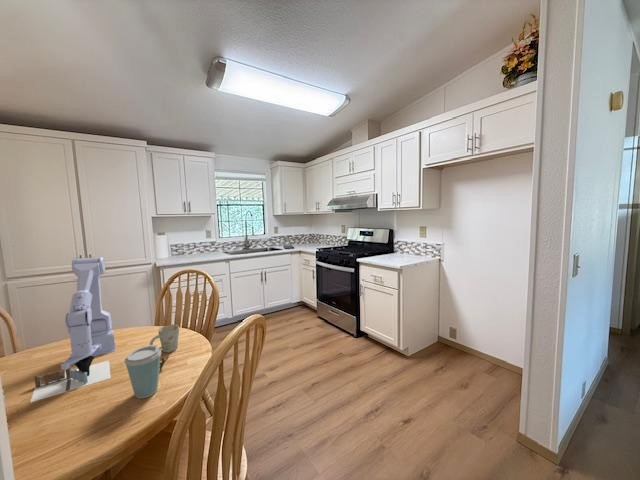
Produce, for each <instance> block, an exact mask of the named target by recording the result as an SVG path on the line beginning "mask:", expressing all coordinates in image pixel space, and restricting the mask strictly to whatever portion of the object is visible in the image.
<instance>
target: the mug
mask: <svg viewBox="0 0 640 480" xmlns="http://www.w3.org/2000/svg"><path fill="white" fill-rule="evenodd" d="M157 331H158V335H156V336H154V337H152V338H151V340H150V342H149V345H154V342H155V340H157V339H159V341H160V345H161V346H159V349H160V350H161V352H163V353H171V352H175V351H176V350H177V349H178V347H179V346H178V345H179V334H180V325H178V324H168V325H167V324H166V325H164V326H162V327H159V329H158V330H157Z"/></svg>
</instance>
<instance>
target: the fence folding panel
mask: <svg viewBox="0 0 640 480" xmlns="http://www.w3.org/2000/svg"><path fill="white" fill-rule="evenodd" d="M76 369H77V368H75V369H73V368H71V370H69V373H70V378H72V379H73V380H78V381H79V382H80V381H81V382H83V383H87V382H88V379H87V372H84V373H83V372H82V371H77V370H76Z"/></svg>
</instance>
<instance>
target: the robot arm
mask: <svg viewBox="0 0 640 480" xmlns="http://www.w3.org/2000/svg"><path fill="white" fill-rule="evenodd" d="M71 271H72V272H73V274H74V275H75V277H77V283H76V284H77V287H76V292H74V293H73V294H72V296H71V300H70V302H71V303H70V309H69V312H68V313H66V314H65V320H64V321H65V322H64V323H65V326H66V329H67V333H69V339H70V347H71V349H70V350H71V353H70V354H69V357H68V358H67V359H66V360H65V361H63V362H62V363H61V364H60V367H61V370H64V371H66V370H67V369H69V367H70V366H71V367H72V366H73V365H74V366H75V368H76V369H79V371H82V372H83V373H84V372H87V376H89V373H90V369H89V368H90V365H92V362H93V361H94V359H95V357H98V356H102V355H106V354H109V353H114V352H116V341H115V333H114V329H112V326H113V321H112V320H113V319H112V317H111V313H110V312H108V311H106V310H103V304H102V303H103V302H102V290H101V289H102V288H101V287H102V286H101V276H103V275H104V274H106V262H105V258H104V257H103V256H99V257H98V256H97V257H83V258H74V259H73V260H72V261H71Z"/></svg>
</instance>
